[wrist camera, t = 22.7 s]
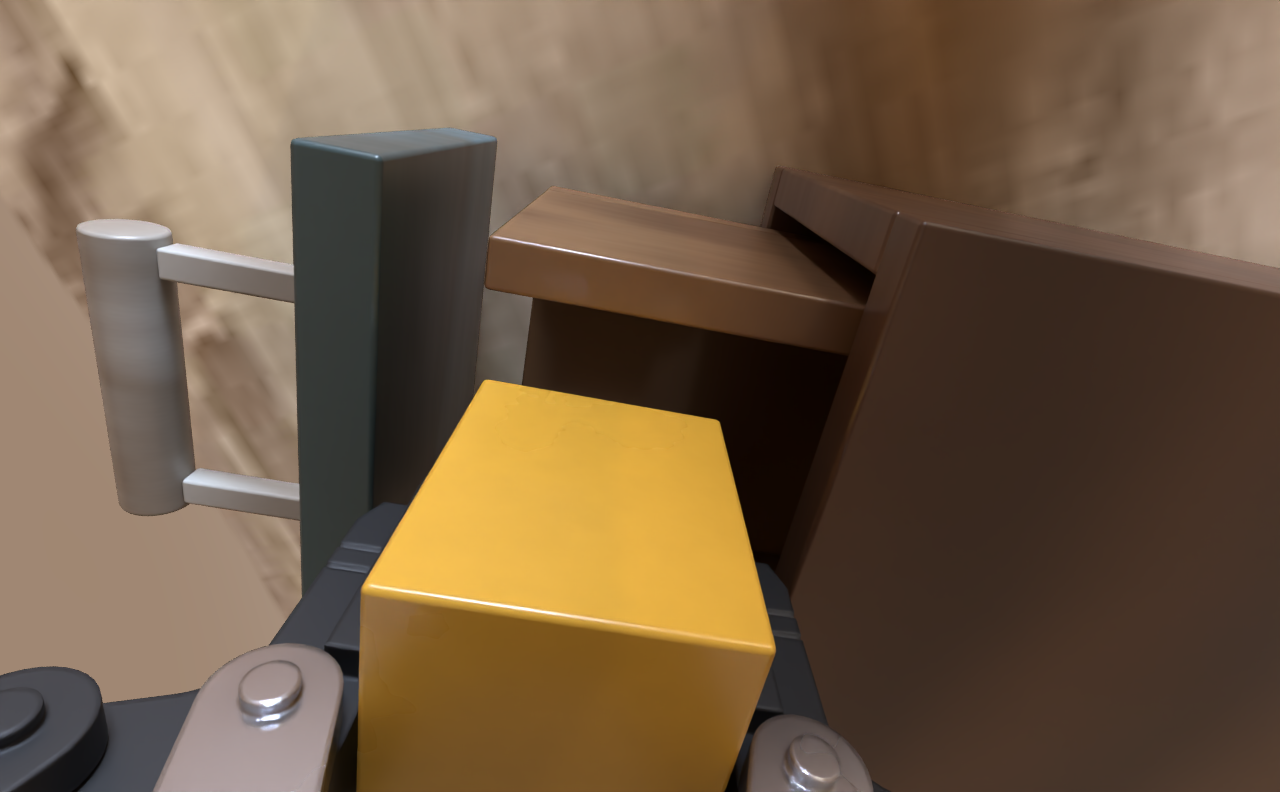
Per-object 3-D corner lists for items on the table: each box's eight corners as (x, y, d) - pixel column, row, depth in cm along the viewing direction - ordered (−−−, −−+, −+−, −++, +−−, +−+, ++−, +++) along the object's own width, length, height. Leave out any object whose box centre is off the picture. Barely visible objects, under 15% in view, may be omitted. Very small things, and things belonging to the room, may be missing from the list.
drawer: (241, 490, 19) (18, 698, 12) (213, 79, 15) (-157, 49, 8) (838, 584, 20) (937, 818, 14) (977, 233, 16) (1223, 321, 9)
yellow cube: (455, 648, 12) (350, 952, 7) (483, 376, 9) (356, 586, 5) (650, 676, 12) (655, 986, 8) (721, 418, 10) (780, 650, 6)
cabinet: (674, 555, 21) (695, 854, 13) (775, 164, 16) (923, 219, 8) (1081, 620, 22) (1356, 936, 14) (1290, 270, 17) (1922, 423, 9)
